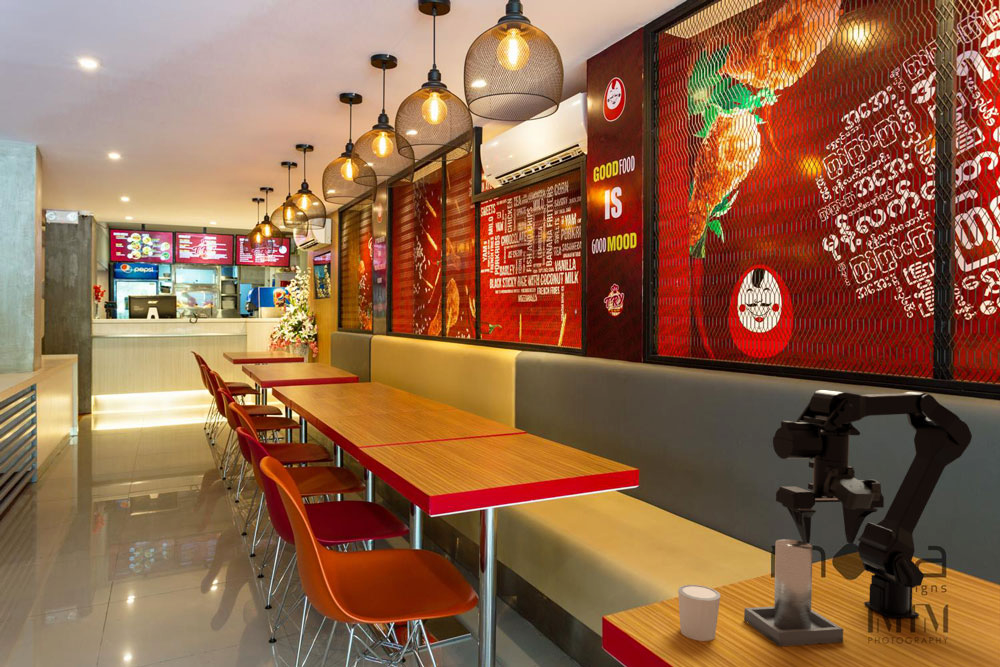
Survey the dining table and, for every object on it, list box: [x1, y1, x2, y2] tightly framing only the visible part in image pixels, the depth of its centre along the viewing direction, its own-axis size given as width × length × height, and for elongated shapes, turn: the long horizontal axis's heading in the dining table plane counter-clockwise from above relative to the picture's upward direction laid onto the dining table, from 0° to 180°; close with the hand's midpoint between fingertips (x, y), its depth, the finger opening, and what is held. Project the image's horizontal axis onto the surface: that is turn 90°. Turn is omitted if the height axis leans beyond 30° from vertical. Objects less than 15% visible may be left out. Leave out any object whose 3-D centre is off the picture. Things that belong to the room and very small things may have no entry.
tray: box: [743, 606, 844, 647], centre depth 111 cm, size 12×10×2 cm
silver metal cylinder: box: [773, 538, 813, 630], centre depth 111 cm, size 6×6×14 cm
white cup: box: [677, 584, 721, 642], centre depth 108 cm, size 7×7×7 cm
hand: (828, 543), depth 118 cm, fingers open, 9 cm apart
